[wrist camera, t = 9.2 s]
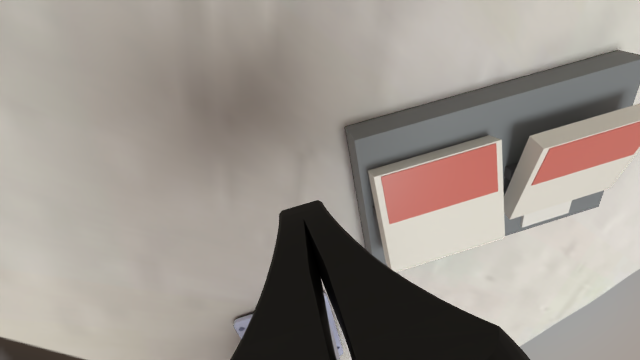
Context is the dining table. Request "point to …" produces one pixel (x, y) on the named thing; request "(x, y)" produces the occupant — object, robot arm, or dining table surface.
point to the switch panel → (494, 128)
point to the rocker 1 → (440, 202)
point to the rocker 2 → (573, 161)
